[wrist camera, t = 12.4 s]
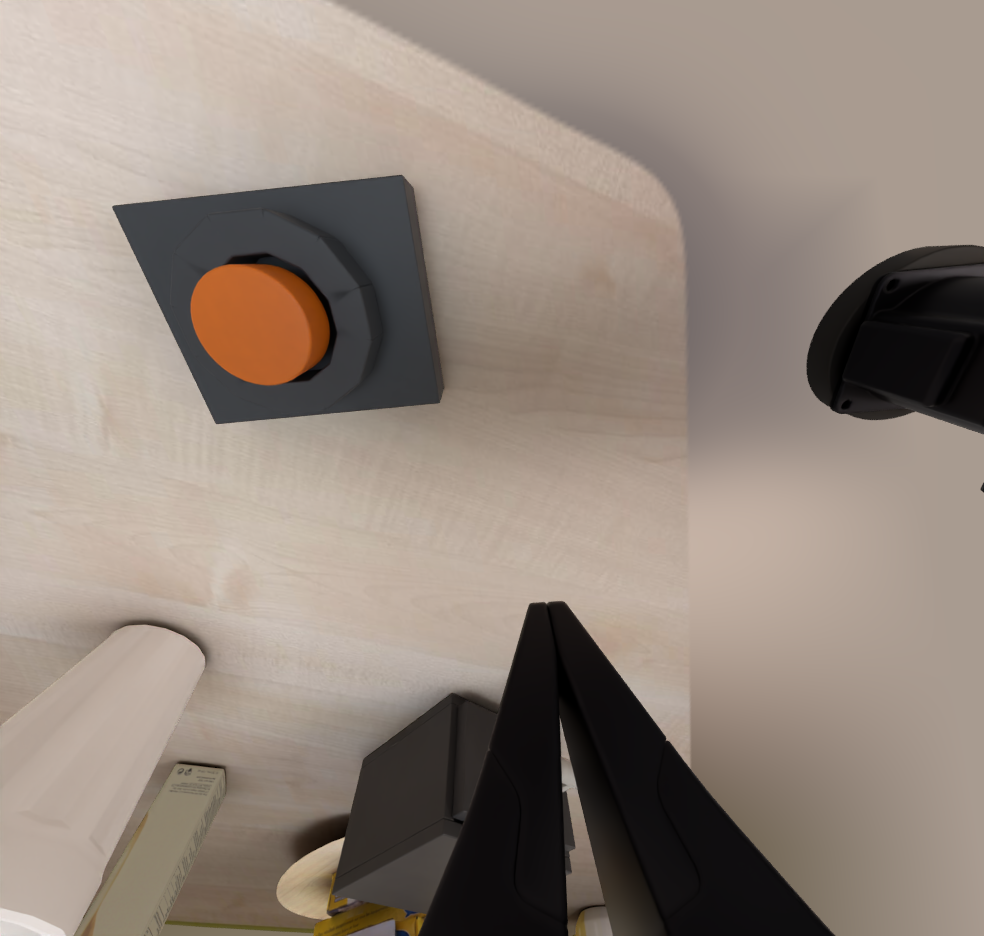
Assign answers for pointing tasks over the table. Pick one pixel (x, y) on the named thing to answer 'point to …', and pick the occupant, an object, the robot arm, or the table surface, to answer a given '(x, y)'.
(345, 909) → the stack of yellow boxes
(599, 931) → the mug
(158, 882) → the cosmetic box
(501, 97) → the table surface
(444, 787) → the black box
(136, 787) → the cup
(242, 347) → the button
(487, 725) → the drawer
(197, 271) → the control block
